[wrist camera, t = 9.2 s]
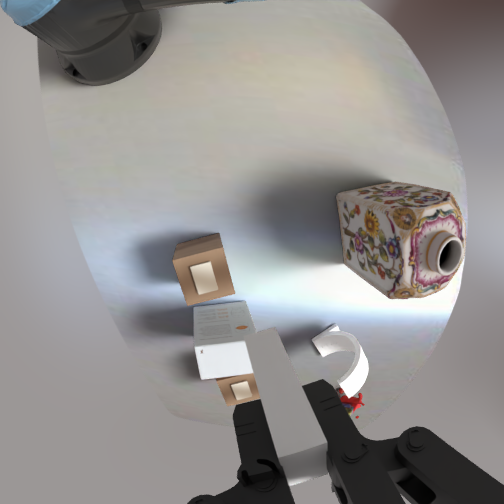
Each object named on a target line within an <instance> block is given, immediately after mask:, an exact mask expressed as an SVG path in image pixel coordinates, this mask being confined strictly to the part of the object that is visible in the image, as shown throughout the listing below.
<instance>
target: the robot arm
mask: <svg viewBox="0 0 504 504" xmlns="http://www.w3.org/2000/svg"><path fill="white" fill-rule="evenodd" d="M244 1H265V0H0V4H1V7H2V9H3V10H4V12H6V13H7V14H8V15H9V16H10V17H11V18H12V19H13V20H14V22H15V23H16V24H17V25H20V26H21V27H23V28H24V29H26V30H28V31H29V32H31V33H32V34H34V35H35V36H37V37H38V38H40V39H41V40H43V41H44V42H46V43H47V44H49V45H50V46H52V47H53V48H55V49H56V52H57V55H58V58H59V61H60V64H61V66H62V68H63V69H64V71H65V72H66V73H67V74H68V75H69V76H71V77H72V78H74V79H75V80H77V81H79V82H81V83H84V84H88V85H104V84H109V83H112V82H115V81H118V80H120V79H123V78H125V77H126V76H128V75H130V74H131V73H133V72H134V71H136V70H137V69H138V68H140V67H141V66H142V65H143V64H144V63H145V62H146V61H147V60H148V59H149V58H150V56H151V55H152V54H153V52H154V51H155V49H156V47H157V45H158V43H159V40H160V37H161V32H162V23H161V19H160V15H159V12H158V10H157V9H162V8H169V7H176V6H183V5H192V4H203V3H219V2H223V3H225V4H233V3H237V2H244ZM244 340H245V344H246V347H247V351H248V355H249V358H250V362H251V366H252V369H253V373H254V377H255V380H256V384H257V388H258V391H259V395H260V398H261V399H258V400H254V401H251V402H246V403H242V404H238V405H236V407H235V410H234V413H233V421H234V426H235V431H236V436H237V442H238V448H239V453H240V458H241V463H242V464H241V466H240V467H239V469H238V471H237V472H238V473H237V479H238V480H239V482H238V483H237V484H236V485H235V486H234V487H232V488H231V489H229V490H227V491H225V492H223V493H220V494H218V495H216V496H212V495H199V496H197V497H195V498H193V499H191V500H190V501H189V502H188V503H187V504H295V502H294V499H293V496H292V493H291V491H290V487H289V486H291V485H295V484H298V483H302V482H305V481H308V480H311V479H314V478H317V477H320V476H323V475H326V474H328V472H329V475H330V477H331V479H332V487H331V488H332V492H335V493H336V496H337V498H338V501H339V503H340V504H405V502H404V500H403V498H402V497H401V495H400V494H402V495H403V496H404V497H405V498H406V499H407V500H408V501H409V502H410V503H411V504H504V485H503V484H501V483H500V482H498V481H497V480H496V479H494V478H493V477H491V476H490V475H489V474H487V473H486V472H485V471H483V470H482V469H480V468H479V467H478V466H476V465H475V464H474V463H472V462H471V461H470V460H468V459H467V458H466V457H464V456H463V455H462V454H460V453H459V452H458V451H456V450H455V449H454V448H452V447H451V446H450V445H448V444H447V443H445V441H443V440H442V439H441V438H439V437H438V436H437V435H435V434H434V433H433V432H431V431H430V430H428V429H426V428H424V427H412V428H409V429H407V430H406V431H404V432H403V433H402V434H401V435H400V437H398V438H393V439H387V440H379V441H375V440H370V439H367V438H365V437H363V436H362V435H361V434H360V433H359V431H358V430H357V428H356V426H355V425H354V423H353V421H352V419H351V418H350V416H349V414H348V412H347V410H346V409H345V407H344V405H343V404H342V402H341V400H340V398H339V397H338V395H337V393H336V391H335V389H334V388H333V386H332V385H331V384H329V383H328V382H326V381H325V380H323V379H322V380H319V381H316V382H313V383H310V384H307V385H304V386H301V383H300V381H299V379H298V377H297V375H296V372H295V370H294V368H293V366H292V364H291V361H290V359H289V357H288V355H287V352H286V350H285V348H284V346H283V344H282V341H281V339H280V337H279V335H278V332H277V330H276V328H275V327H274V328H270V329H267V330H263V331H259V332H256V333H252V334H248V335H245V336H244Z"/></svg>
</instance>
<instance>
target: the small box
mask: <svg viewBox="0 0 504 504" xmlns="http://www.w3.org/2000/svg"><path fill="white" fill-rule="evenodd" d="M193 312H194V349H195V354H196V359H197V364H198V368H199V373H200V377H201V380H203V379H212V378H221V377H229V376H236V375H244V374H250V373H253V369H252V366H251V362H250V358H249V355H248V351H247V347H246V344H245V340H244V336H245V335H248V334H252V333H256V332H257V330H256V328H255V325H254V322H253V319H252V317H251V314H250V311H249V309H248V306H247V303H246V301H241V302H232V303H224V304H215V305H206V306H197V307H194V308H193Z"/></svg>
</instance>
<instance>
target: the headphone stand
mask: <svg viewBox="0 0 504 504" xmlns="http://www.w3.org/2000/svg"><path fill="white" fill-rule="evenodd" d="M311 340H312V341H313V343H314V344H315V346H316V347H317V349H318V350H319V352H320V353H321V355H322V357H324V356H326V355H328V354H330V353H333V352H337V351H350V352H353V353H355V359H354V361H353V364H352V366H351V367H350V369H349V370H348V371H347V373H346V374H345V375H344V376H342V377H341V378H340V379H339V380H337V381H338V383H339V384H340V386H341V387H342V389H343V390H344V392H345V393H346V395H347V397H348V398H350V397H352V396H353V395H354V394H355V393H356V392H357V391H358V390H359V389H360V388H361V387H362V385H363V384H364V382H365V380H366V378H367V375H368V361H367V359H366V356H365V354H364V352H363V350H362V348H361V346H360V344H359V342H358V340H357V339H356V338H355V337H354V336H353V335H352V334H350V333H347V332H344V331H340V330H339V328H338V326H337V325H336V323H335V324H334V325H332V326H331V327H329V328H328V329H326V330H325V331H323V332H322V333H320V334H319V335H317V336H316V337H314V338H313V339H311Z"/></svg>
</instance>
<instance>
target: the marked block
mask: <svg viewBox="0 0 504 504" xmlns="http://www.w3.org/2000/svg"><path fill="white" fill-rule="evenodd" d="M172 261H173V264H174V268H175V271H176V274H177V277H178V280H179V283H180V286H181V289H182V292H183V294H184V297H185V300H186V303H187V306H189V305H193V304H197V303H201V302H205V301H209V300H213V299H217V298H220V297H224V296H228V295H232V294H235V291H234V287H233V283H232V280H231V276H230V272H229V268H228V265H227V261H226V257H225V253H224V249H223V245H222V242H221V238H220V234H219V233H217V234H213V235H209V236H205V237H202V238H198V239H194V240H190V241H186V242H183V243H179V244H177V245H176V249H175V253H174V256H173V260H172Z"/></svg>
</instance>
